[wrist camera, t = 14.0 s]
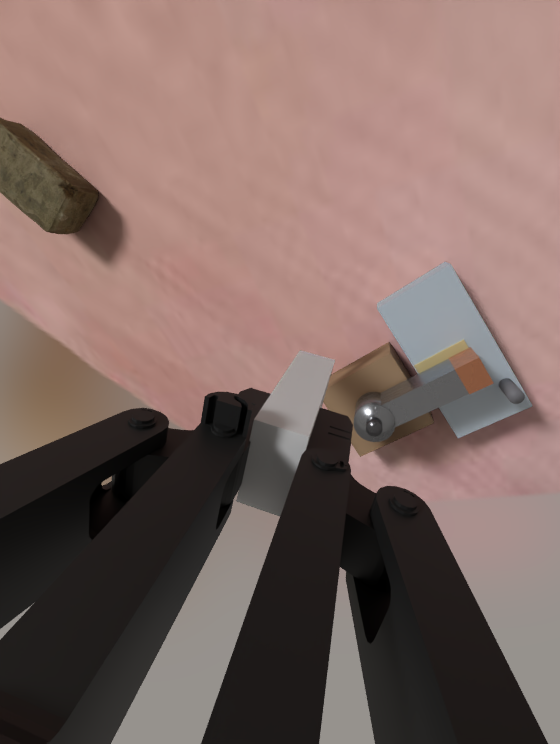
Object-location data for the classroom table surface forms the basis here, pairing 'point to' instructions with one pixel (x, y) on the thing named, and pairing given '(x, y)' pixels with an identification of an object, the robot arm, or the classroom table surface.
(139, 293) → the classroom table surface
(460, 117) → the classroom table surface
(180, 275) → the classroom table surface
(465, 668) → the robot arm
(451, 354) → the grey block with peg
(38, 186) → the stone block
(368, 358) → the block
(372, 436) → the latch bar
